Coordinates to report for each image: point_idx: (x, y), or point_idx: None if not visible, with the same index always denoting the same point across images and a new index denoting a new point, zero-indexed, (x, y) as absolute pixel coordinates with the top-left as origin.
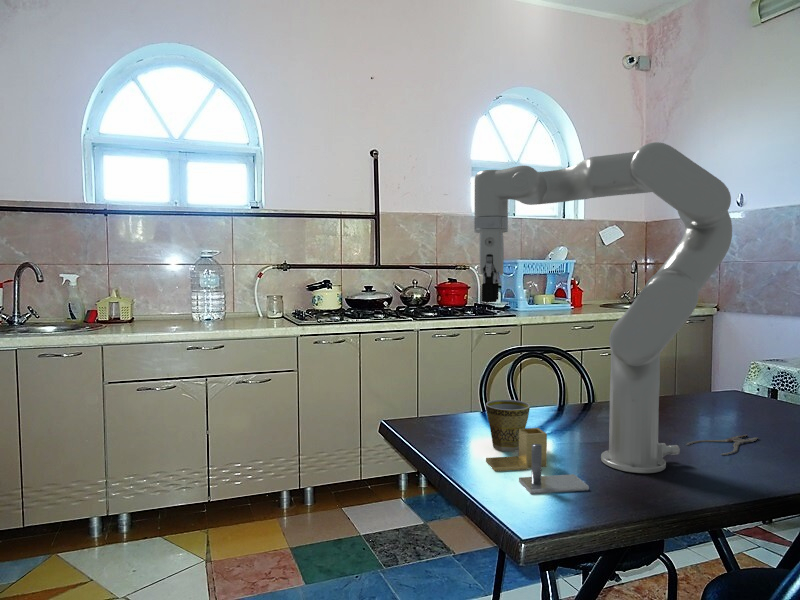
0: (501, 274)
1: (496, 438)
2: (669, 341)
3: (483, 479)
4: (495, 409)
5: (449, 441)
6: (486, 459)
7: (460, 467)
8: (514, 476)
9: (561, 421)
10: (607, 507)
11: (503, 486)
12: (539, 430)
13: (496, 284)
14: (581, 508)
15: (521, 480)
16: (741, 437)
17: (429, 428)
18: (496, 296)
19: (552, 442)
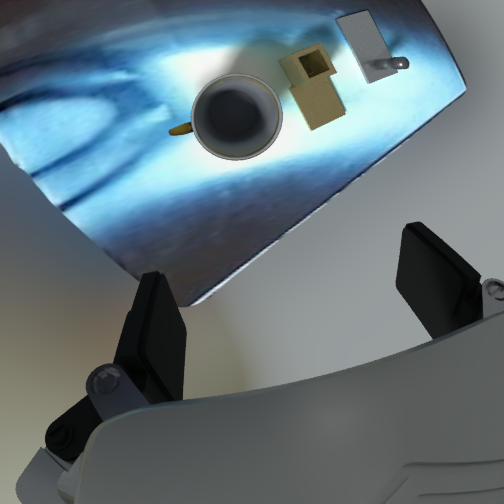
0: (500, 312)
1: (256, 126)
2: None
3: (371, 124)
4: (278, 133)
5: (236, 201)
6: (313, 129)
7: (340, 158)
8: (352, 88)
9: (55, 77)
10: (399, 5)
11: (384, 100)
12: (305, 53)
13: (478, 275)
14: (410, 29)
15: (376, 80)
16: None
17: (185, 249)
18: (434, 233)
19: (178, 53)
